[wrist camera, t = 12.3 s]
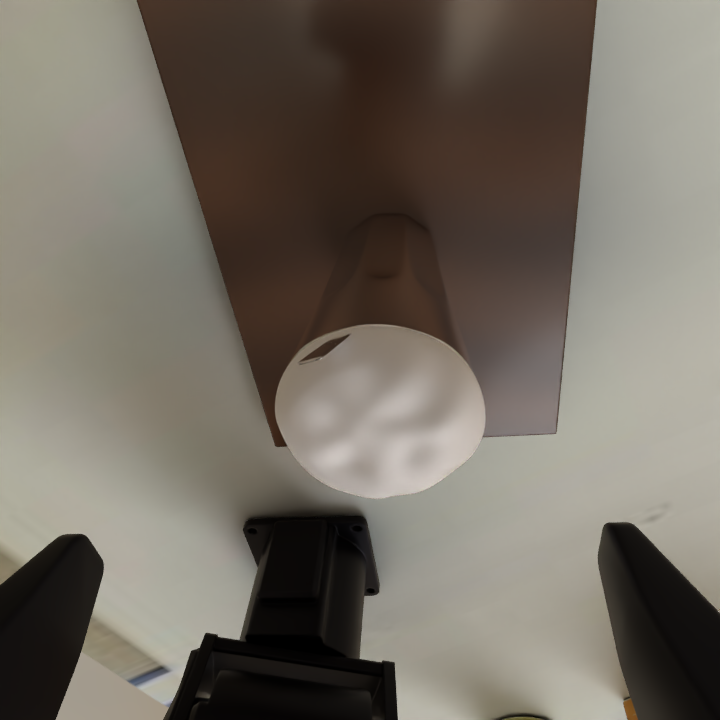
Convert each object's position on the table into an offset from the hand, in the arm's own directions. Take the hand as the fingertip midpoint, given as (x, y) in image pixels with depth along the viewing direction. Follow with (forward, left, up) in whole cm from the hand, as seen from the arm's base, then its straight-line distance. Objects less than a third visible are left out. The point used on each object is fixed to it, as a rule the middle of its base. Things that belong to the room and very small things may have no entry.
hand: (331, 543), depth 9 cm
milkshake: (0, -1, -11) cm, 11 cm away
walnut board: (+1, -1, -12) cm, 12 cm away
